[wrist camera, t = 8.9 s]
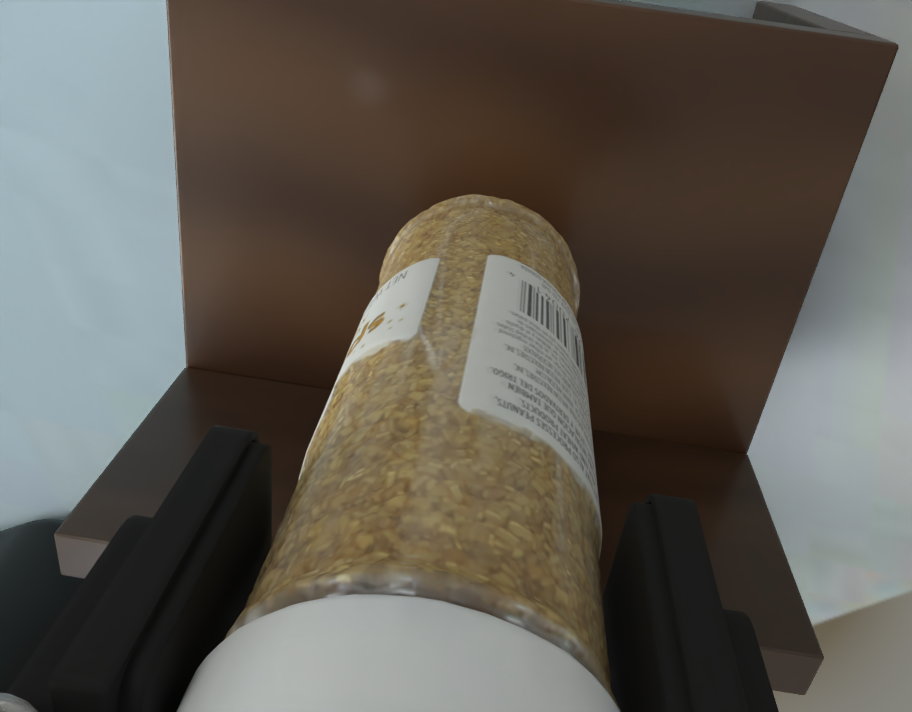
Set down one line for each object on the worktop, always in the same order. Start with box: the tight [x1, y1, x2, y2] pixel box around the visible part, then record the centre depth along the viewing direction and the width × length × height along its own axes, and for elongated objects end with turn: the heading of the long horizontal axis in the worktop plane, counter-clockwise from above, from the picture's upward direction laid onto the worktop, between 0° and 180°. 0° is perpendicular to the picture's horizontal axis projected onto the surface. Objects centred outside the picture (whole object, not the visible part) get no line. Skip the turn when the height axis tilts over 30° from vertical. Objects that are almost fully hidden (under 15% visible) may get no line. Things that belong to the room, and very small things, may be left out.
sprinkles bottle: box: [176, 194, 621, 712], centre depth 12 cm, size 5×5×14 cm
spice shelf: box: [54, 0, 898, 695], centre depth 20 cm, size 12×16×15 cm
